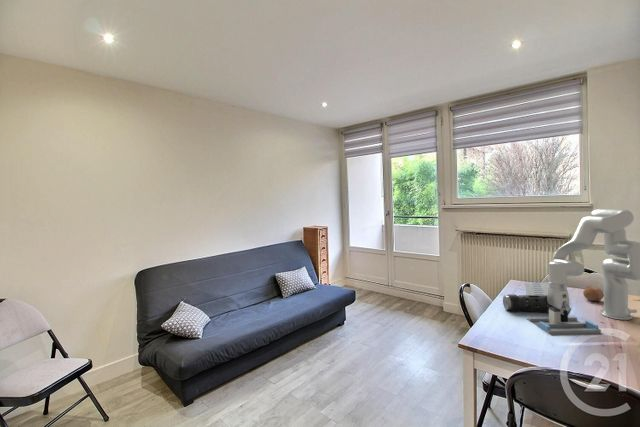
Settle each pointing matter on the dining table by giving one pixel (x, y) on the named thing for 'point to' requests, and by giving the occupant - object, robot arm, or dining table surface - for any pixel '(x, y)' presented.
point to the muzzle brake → (525, 303)
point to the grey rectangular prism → (555, 315)
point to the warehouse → (536, 288)
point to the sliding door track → (566, 327)
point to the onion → (593, 294)
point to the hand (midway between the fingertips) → (557, 317)
